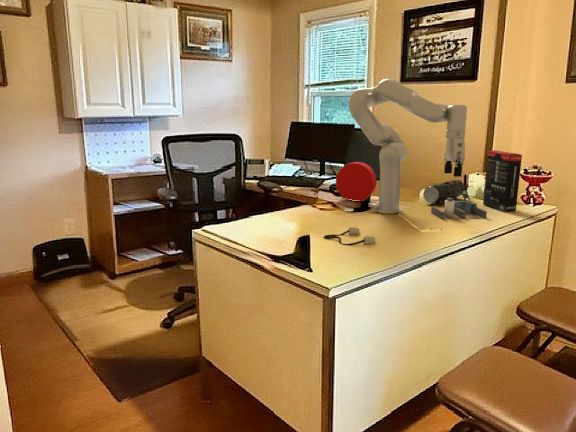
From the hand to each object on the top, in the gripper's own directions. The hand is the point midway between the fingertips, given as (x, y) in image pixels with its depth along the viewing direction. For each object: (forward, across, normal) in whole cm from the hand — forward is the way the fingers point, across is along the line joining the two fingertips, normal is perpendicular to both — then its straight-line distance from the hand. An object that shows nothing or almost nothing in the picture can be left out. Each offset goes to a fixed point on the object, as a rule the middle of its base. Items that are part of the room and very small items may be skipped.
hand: (452, 174), depth 205 cm
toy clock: (+19, +41, +33) cm, 56 cm away
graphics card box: (+20, +18, -32) cm, 42 cm away
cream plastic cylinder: (+18, 0, 0) cm, 18 cm away
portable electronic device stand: (+20, +17, -16) cm, 31 cm away
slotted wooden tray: (+19, +1, -4) cm, 20 cm away
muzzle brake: (+20, +36, -12) cm, 43 cm away
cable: (+20, -30, +51) cm, 62 cm away
